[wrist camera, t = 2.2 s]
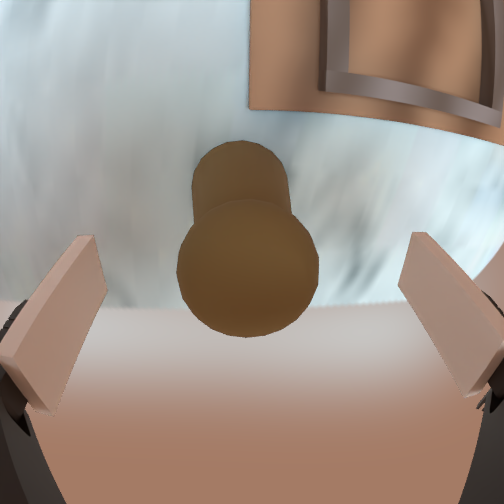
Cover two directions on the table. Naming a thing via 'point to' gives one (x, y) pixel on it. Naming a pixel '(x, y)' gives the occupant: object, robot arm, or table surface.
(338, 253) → the table surface
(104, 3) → the table surface
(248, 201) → the brown tall rounded piece
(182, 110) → the table surface
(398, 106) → the board
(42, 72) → the table surface
